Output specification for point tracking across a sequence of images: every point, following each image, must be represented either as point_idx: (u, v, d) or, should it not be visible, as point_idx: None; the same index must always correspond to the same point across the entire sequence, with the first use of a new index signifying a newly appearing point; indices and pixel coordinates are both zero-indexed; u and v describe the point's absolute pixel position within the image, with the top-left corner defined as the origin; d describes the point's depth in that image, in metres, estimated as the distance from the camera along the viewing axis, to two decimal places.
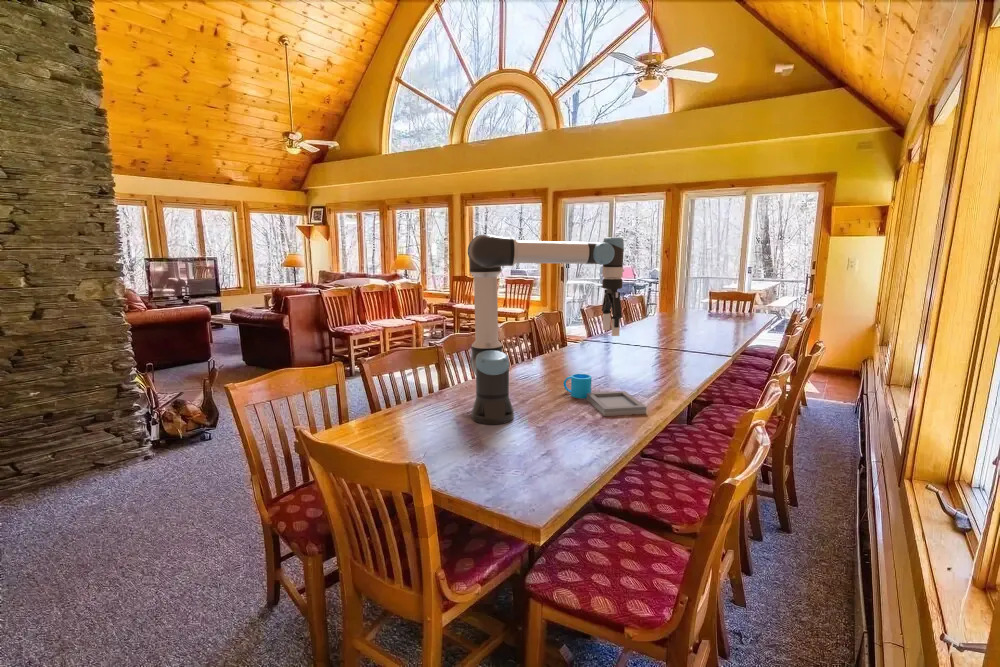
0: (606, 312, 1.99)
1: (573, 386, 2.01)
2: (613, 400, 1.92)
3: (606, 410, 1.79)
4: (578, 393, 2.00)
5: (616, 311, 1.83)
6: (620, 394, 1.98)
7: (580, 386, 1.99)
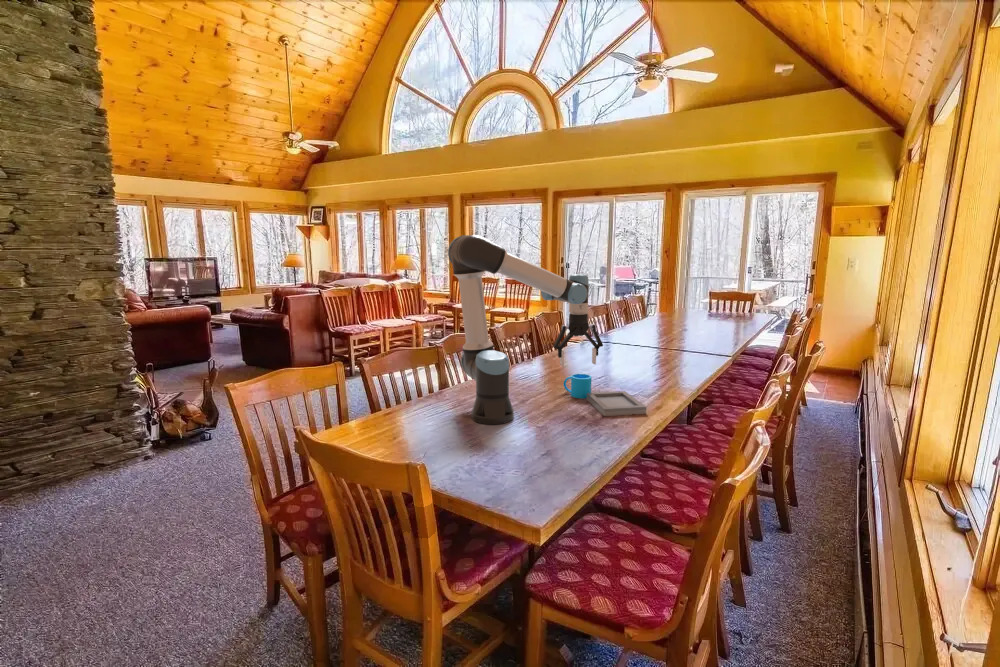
0: (595, 346, 2.02)
1: (573, 386, 2.01)
2: (613, 400, 1.92)
3: (606, 410, 1.79)
4: (578, 393, 2.00)
5: (555, 342, 2.00)
6: (620, 394, 1.98)
7: (580, 386, 1.99)
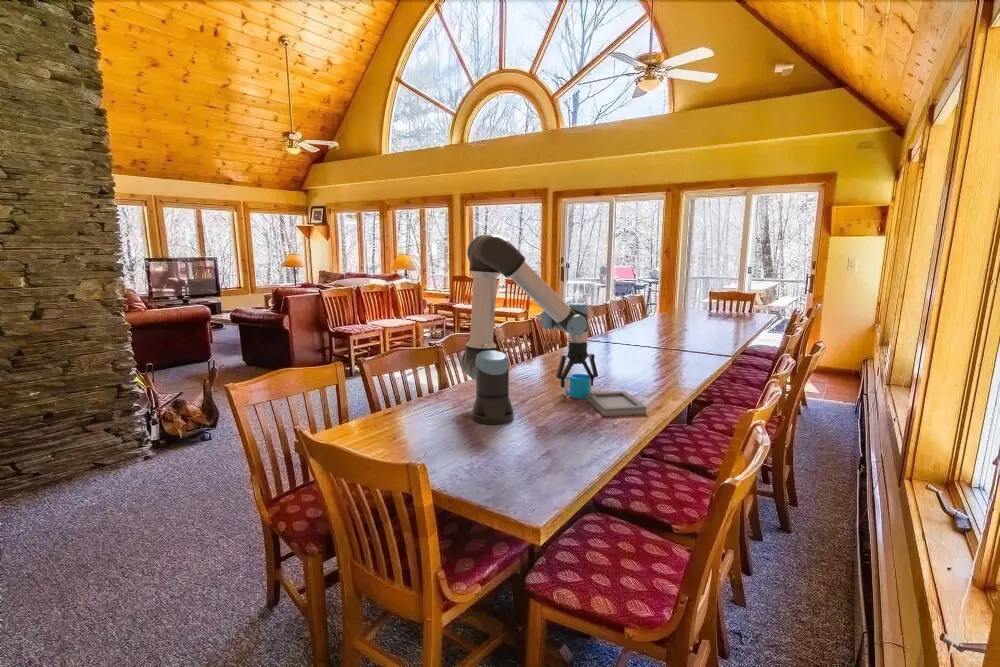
0: (590, 377, 2.04)
1: (572, 386, 2.01)
2: (613, 400, 1.92)
3: (606, 410, 1.79)
4: (577, 393, 2.00)
5: (557, 372, 2.03)
6: (620, 394, 1.98)
7: (579, 386, 1.99)
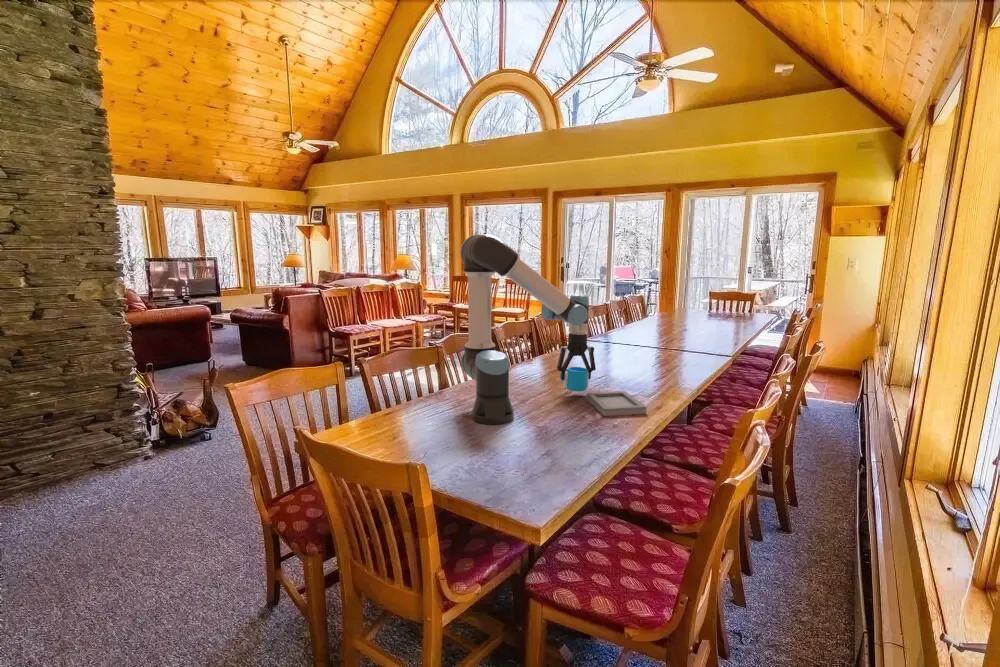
0: None
1: (569, 378, 2.00)
2: (613, 400, 1.92)
3: (606, 410, 1.79)
4: (574, 386, 1.99)
5: None
6: (620, 394, 1.98)
7: (576, 379, 1.98)
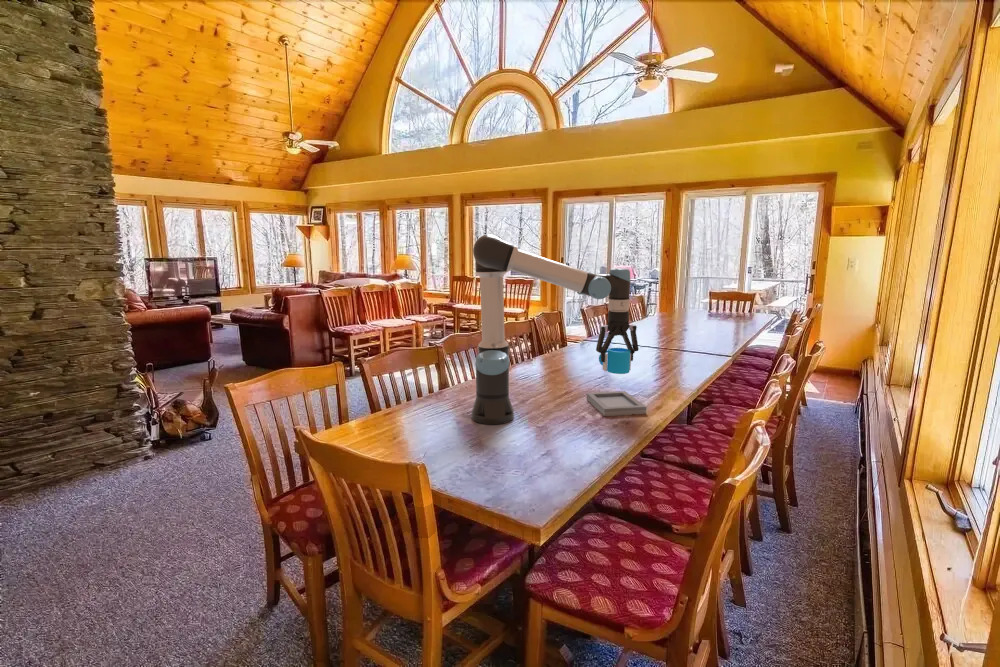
0: None
1: (610, 360, 1.83)
2: (613, 400, 1.92)
3: (606, 410, 1.79)
4: (616, 368, 1.82)
5: (597, 345, 1.85)
6: (620, 394, 1.98)
7: (618, 360, 1.81)
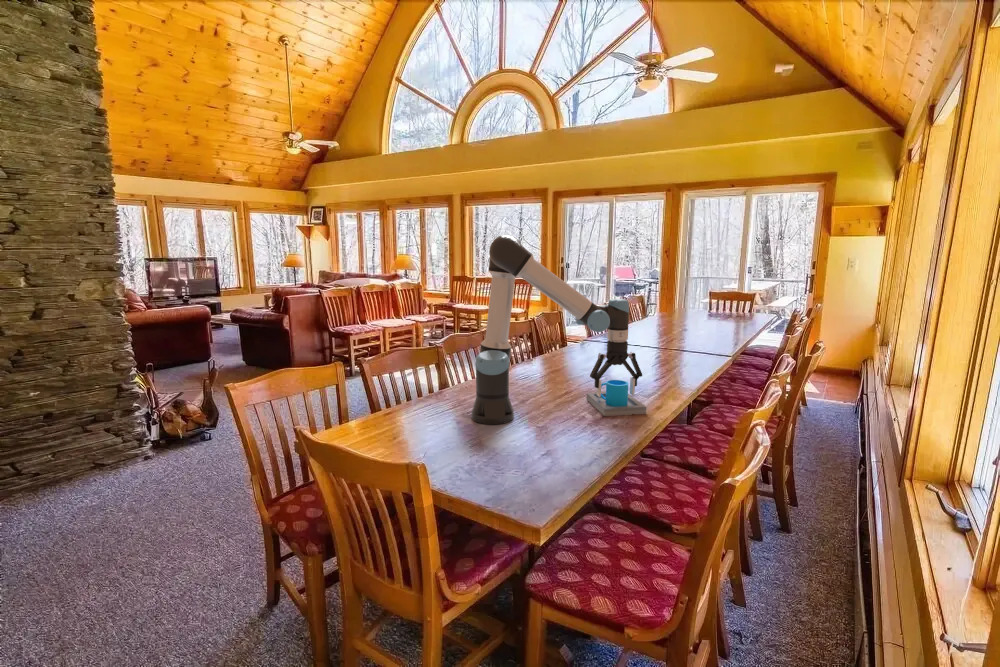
0: (633, 376, 1.89)
1: (608, 393, 1.86)
2: None
3: (606, 410, 1.79)
4: (613, 401, 1.85)
5: (592, 371, 1.87)
6: None
7: (615, 393, 1.84)
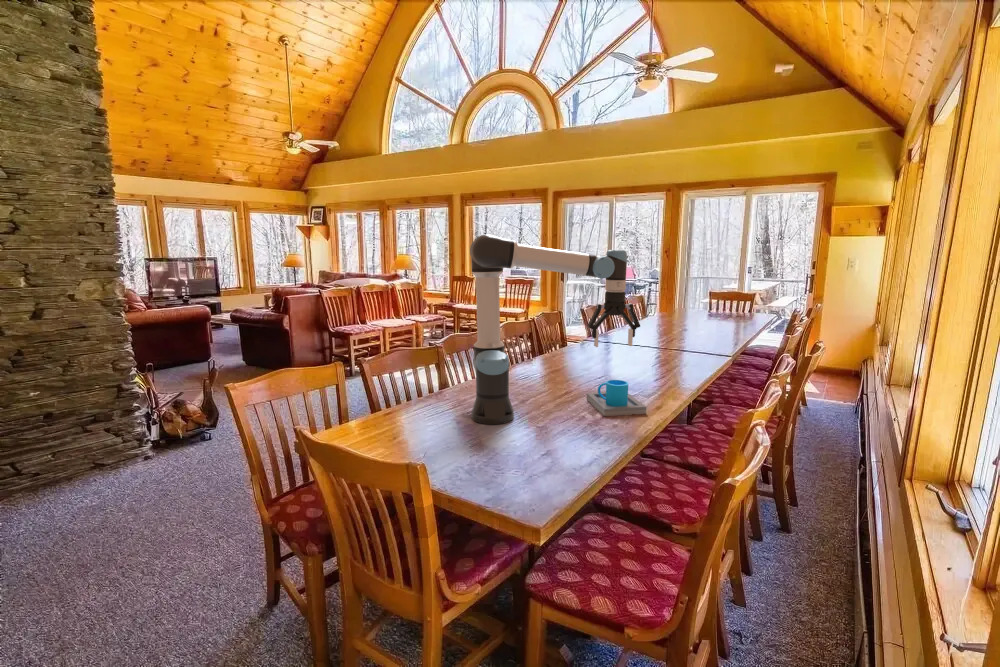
0: (631, 327, 1.91)
1: (608, 393, 1.86)
2: None
3: (606, 410, 1.79)
4: (613, 401, 1.85)
5: None
6: None
7: (615, 393, 1.84)
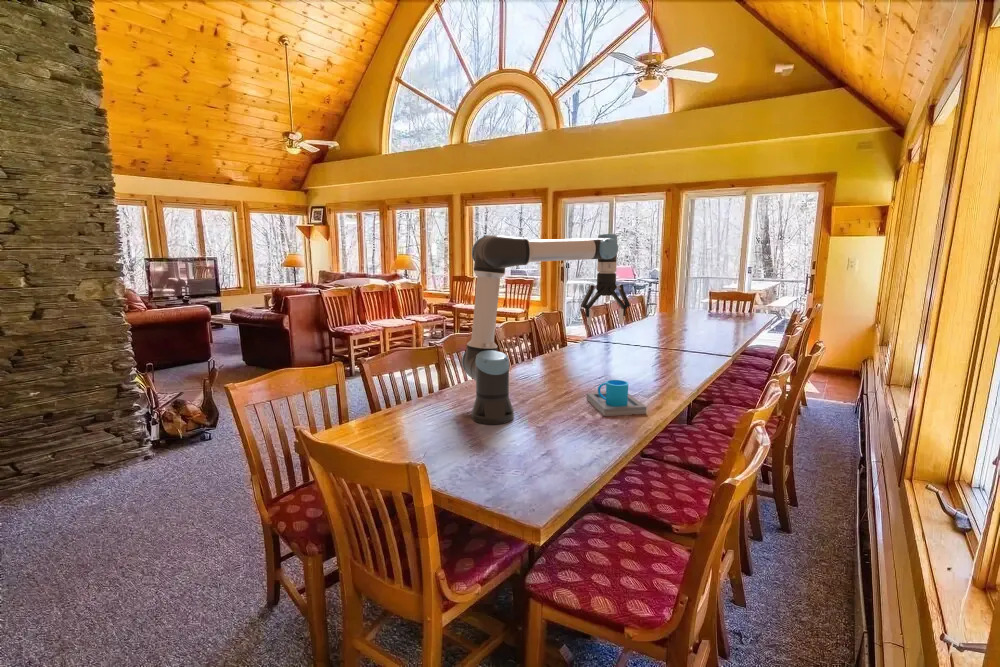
0: (622, 307, 2.03)
1: (608, 393, 1.86)
2: None
3: (606, 410, 1.79)
4: (613, 401, 1.85)
5: (583, 301, 2.01)
6: None
7: (615, 393, 1.84)
